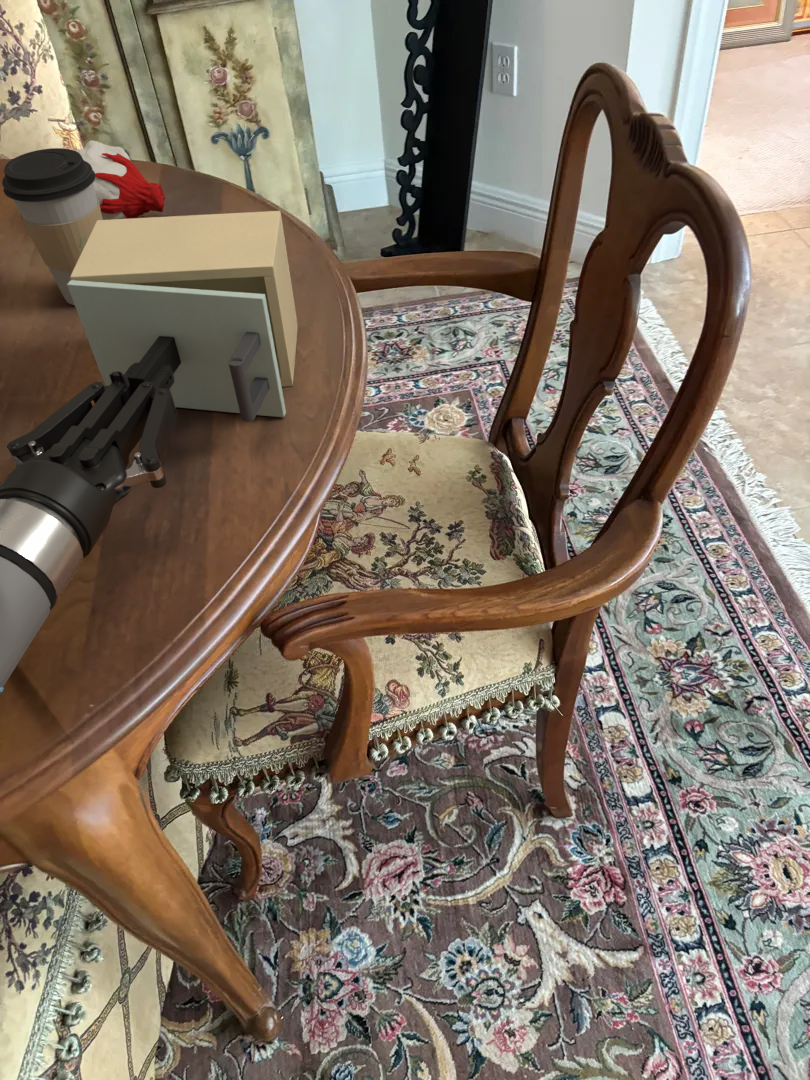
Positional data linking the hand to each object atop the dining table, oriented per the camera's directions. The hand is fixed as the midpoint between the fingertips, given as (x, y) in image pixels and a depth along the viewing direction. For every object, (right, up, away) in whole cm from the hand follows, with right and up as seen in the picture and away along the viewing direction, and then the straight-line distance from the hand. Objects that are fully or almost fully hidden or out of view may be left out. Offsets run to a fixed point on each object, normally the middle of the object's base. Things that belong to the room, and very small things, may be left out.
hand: (170, 349), depth 71 cm
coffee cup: (-16, +12, +21) cm, 29 cm away
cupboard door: (+1, -6, +4) cm, 7 cm away
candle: (-17, +26, +34) cm, 46 cm away
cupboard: (+1, +2, +11) cm, 11 cm away
